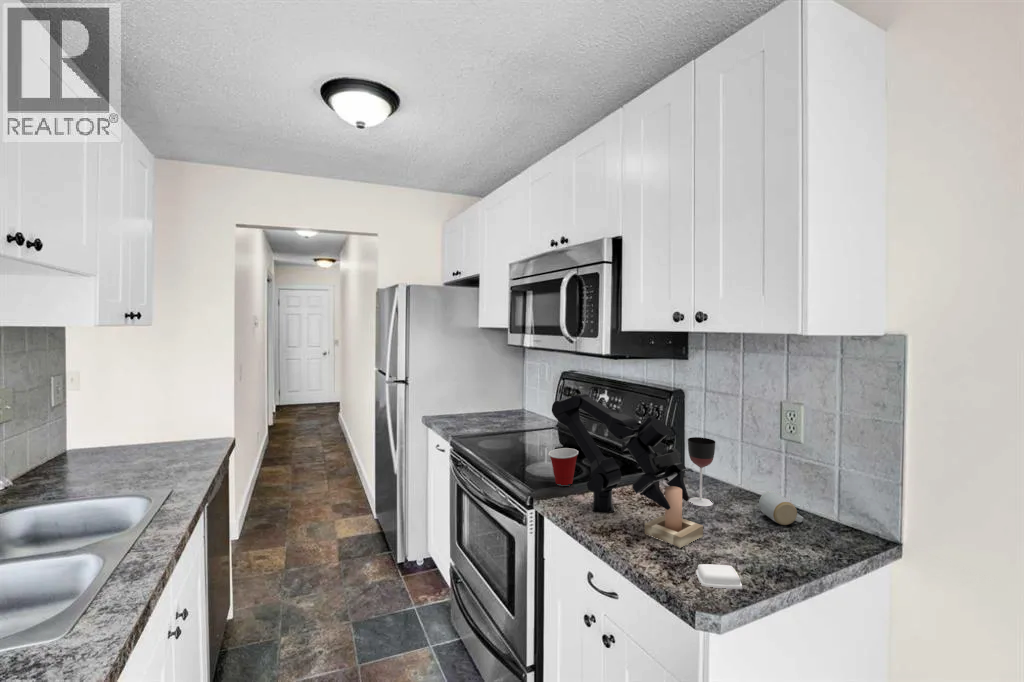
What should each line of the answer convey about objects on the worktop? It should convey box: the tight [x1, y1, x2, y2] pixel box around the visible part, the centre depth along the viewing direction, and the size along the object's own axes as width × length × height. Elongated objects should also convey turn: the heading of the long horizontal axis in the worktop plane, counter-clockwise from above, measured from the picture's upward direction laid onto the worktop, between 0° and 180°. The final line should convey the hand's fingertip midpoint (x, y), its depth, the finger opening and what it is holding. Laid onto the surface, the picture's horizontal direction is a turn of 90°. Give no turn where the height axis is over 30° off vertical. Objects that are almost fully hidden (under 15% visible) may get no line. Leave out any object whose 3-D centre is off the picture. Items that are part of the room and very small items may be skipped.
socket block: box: [644, 514, 704, 549], centre depth 132 cm, size 11×11×3 cm
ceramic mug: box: [758, 490, 804, 526], centre depth 142 cm, size 11×8×8 cm
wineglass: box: [687, 436, 716, 507], centre depth 156 cm, size 8×9×20 cm
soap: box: [695, 563, 743, 590], centre depth 110 cm, size 9×7×3 cm
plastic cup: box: [548, 447, 579, 485], centre depth 173 cm, size 11×11×12 cm
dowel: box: [664, 485, 683, 532], centre depth 132 cm, size 4×4×12 cm
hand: (678, 504), depth 131 cm, fingers open, 9 cm apart
